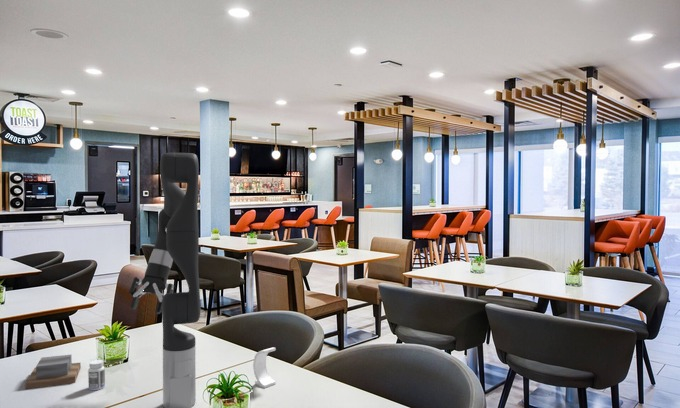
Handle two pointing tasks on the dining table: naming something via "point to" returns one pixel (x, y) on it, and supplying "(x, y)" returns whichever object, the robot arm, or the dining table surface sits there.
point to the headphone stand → (262, 369)
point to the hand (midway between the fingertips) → (145, 311)
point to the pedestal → (53, 372)
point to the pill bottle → (96, 375)
